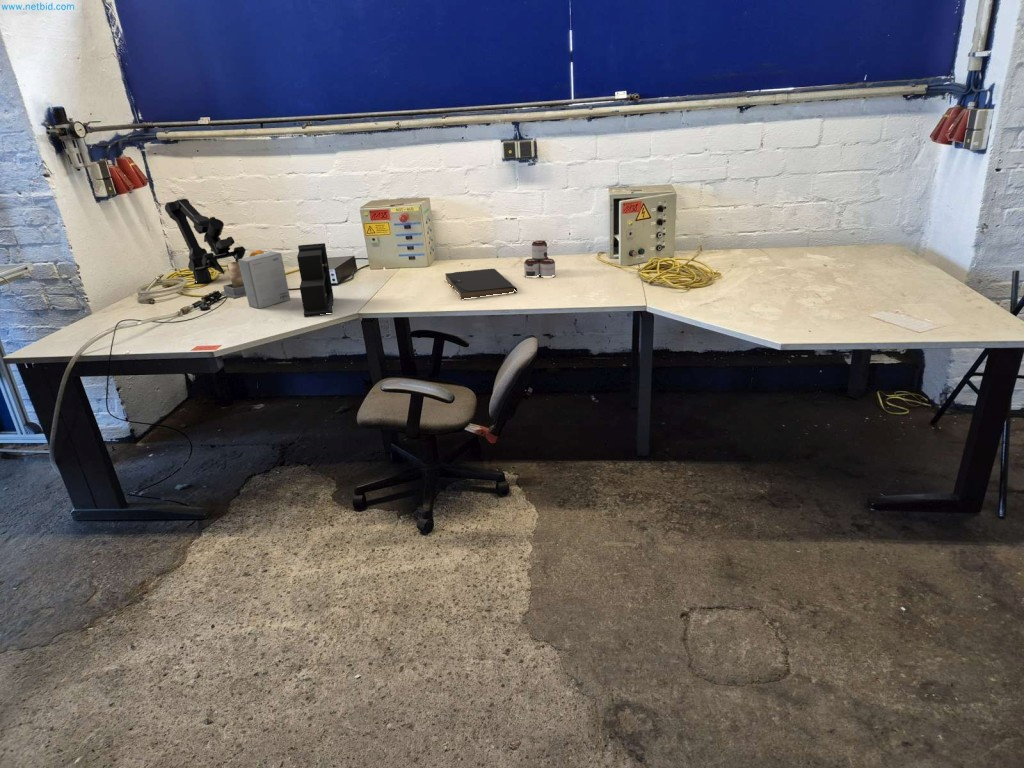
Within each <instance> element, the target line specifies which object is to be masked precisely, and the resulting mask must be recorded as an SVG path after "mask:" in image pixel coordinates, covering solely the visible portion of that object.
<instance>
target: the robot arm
mask: <svg viewBox="0 0 1024 768" xmlns="http://www.w3.org/2000/svg"><path fill="white" fill-rule="evenodd" d="M164 210H165V212H166V214H168V217H169V218H170V219H172V220H173V221H174V222H175V223H176V224H177V227H178V229H179V231H180V233H181V235H182V238H183V239H184V242H185V244H186V246H187V248H188V250H189V253H188V259H189V261H188V266H187V268H188V270H189V271H190V272H192V273H193V277H194V282H195V281H197V283H199V284H200V285H201V284H203V285H204V284H208V283H210V282H212V281H213V280H214V279H213V278H212V275H211V272H210V270H209V269H213V270H216V271H217V272H218V273H221V274H223V275H225V271H224V269H223V268H222V266H221V265H220V263H219V261H218V260H221V259H226V258H230V257H232V258H234V262H239V261H238V260H239V259H243V258H245V253H246V248H245V247H244V246H242V245H240V246H237V247H234V248H233V250H232V251H230V250H231V246H233V245H234V244H235V239H234V238H233V236H228V237H227V238H224V239H221V237H220V236H221V235H222V233H223V229H224V228H225V227H224V226H225V224H224V222H223V221H222V220H221V219H218V218H216V217H215V216H211V217H210V216H209V217H208V216H205V215H202V214H201V213H200V212H199V211H198V210H197V208H195V207H194V206H193V205H192V204H191V202H190V201H189V199H188V198H180V199H177V200H174V201H170V202H169V201H167V202H166V204H165V205H164ZM188 219H189V220H190V222H191V223H192V224H193V228H194V230H195V232H197V233H198V234H199V235H203V234H204V236H203V242H204V243H207V245H208V246H209V248H210V252H207V249H206V248H205V247H204V248H202V247H201V246H200V244H199V242H198V240H197V237H196V236H195V234H194V232H193V229H192V228H191V225H190V223H189V221H188Z"/></svg>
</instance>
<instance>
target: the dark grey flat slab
mask: <svg viewBox="0 0 1024 768" xmlns="http://www.w3.org/2000/svg"><path fill="white" fill-rule="evenodd" d="M444 276H445V281H446V280H447V281H448V282H447V281H446V282H447V284H448V283H449V284H450V285H451V286H450V285H449V284H448V285H449V286H450V287H452V286H453V287H454V289H455V290H456V291H457V292H458V293H459V294H460V296H459V298H460V297H461V298H460V300H461V299H464V298H471V297H480V296H486V295H493V294H502V293H509V292H513V291H514V289H515V290H516V291H517V292H518V288H517V287H516V286H515V285H514V284H512V283H511V282H510V281H509V280H508V279H507V278H506V277H504V276H503V274H501V273H500V272H499V271H498V270H497V269H495V268H483V269H476V270H475V269H474V270H465V271H454V272H447V273H444ZM454 289H453V290H454ZM455 290H454V291H455ZM458 293H457V294H458Z"/></svg>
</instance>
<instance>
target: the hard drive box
mask: <svg viewBox="0 0 1024 768" xmlns="http://www.w3.org/2000/svg"><path fill="white" fill-rule="evenodd" d="M238 261H239V265H240V270H241V274H242V278H243V282H244V286H245V291H246V298H247V302H248V306H249V307H250V308H254V309H258V310H259V309H262V308H267V307H269V306H272V305H277V304H279V303H282V302H287V301H290V300H291V295H290V290H289V286H288V280H287V275H286V271H285V266H284V261H283V255H282V253H280V252H276V251H268V252H264V253H263V254H258V255H254V256H251V257H250V256H248V257H243V258H242V259H239V260H238Z"/></svg>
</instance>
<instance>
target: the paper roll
mask: <svg viewBox="0 0 1024 768" xmlns="http://www.w3.org/2000/svg"><path fill="white" fill-rule="evenodd" d="M227 267H228V272H229V276H230V281H231V284H232V286H233V288H239V287H243V286H244V282H243V278H242V274H241V270H240V265H239V262H236V261H232V262H229V263H227Z"/></svg>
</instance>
